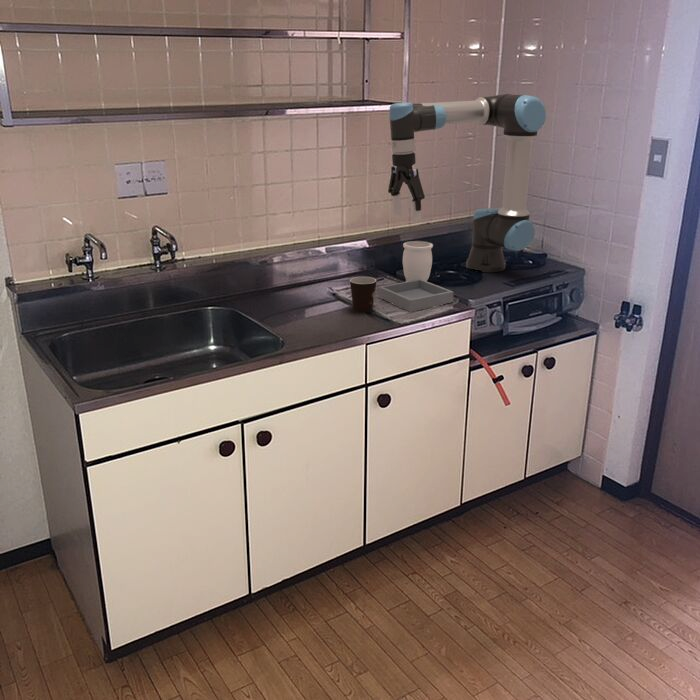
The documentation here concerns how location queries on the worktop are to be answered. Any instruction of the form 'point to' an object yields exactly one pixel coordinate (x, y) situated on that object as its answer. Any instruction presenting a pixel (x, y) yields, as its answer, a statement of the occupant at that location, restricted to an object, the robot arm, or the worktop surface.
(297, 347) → the worktop surface
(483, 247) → the robot arm
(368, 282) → the coffee mug
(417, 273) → the jar
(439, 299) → the tray
